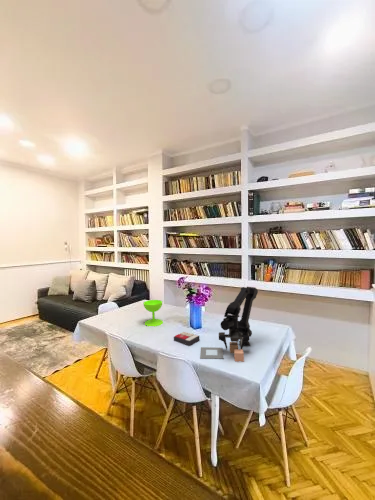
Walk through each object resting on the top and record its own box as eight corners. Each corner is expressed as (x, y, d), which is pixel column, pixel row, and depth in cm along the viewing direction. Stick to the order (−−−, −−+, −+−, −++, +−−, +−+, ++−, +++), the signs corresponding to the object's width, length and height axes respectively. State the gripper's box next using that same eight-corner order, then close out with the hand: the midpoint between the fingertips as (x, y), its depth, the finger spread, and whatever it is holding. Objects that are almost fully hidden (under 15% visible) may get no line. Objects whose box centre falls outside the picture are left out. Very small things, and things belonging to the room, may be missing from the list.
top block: (234, 357, 150) (234, 349, 149) (242, 357, 149) (242, 349, 149) (235, 361, 145) (234, 353, 144) (243, 361, 144) (243, 353, 144)
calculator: (183, 331, 184) (199, 334, 174) (184, 336, 184) (199, 340, 174) (173, 335, 176) (189, 340, 166) (173, 341, 176) (189, 346, 166)
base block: (229, 349, 160) (229, 341, 159) (237, 349, 159) (237, 342, 159) (230, 353, 155) (230, 345, 154) (238, 353, 154) (238, 345, 154)
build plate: (200, 347, 163) (200, 347, 163) (222, 348, 162) (222, 347, 162) (200, 358, 149) (200, 357, 149) (223, 358, 148) (223, 358, 148)
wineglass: (140, 325, 206) (140, 304, 205) (149, 319, 222) (148, 299, 221) (158, 327, 202) (157, 305, 201) (166, 320, 217) (165, 300, 216)
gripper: (218, 330, 149) (219, 355, 150) (250, 330, 147) (251, 355, 148) (218, 323, 160) (218, 347, 161) (247, 323, 158) (248, 347, 159)
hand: (233, 349), depth 157 cm, fingers open, 9 cm apart
